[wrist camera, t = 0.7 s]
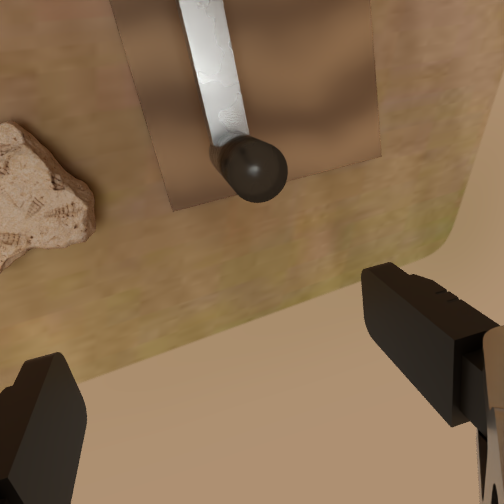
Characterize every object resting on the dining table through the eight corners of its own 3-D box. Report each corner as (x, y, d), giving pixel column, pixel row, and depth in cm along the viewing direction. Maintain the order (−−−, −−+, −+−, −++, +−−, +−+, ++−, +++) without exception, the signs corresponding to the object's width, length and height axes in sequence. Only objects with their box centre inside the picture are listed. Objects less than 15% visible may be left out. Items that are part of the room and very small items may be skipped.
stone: (112, 218, 32) (104, 238, 28) (-26, 274, 31) (-57, 304, 27) (52, 107, 29) (33, 109, 24) (-105, 167, 28) (-156, 181, 23)
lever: (116, -190, 20) (94, -365, 13) (186, -200, 21) (205, -373, 13) (209, 178, 28) (230, 210, 20) (258, 166, 28) (297, 192, 21)
